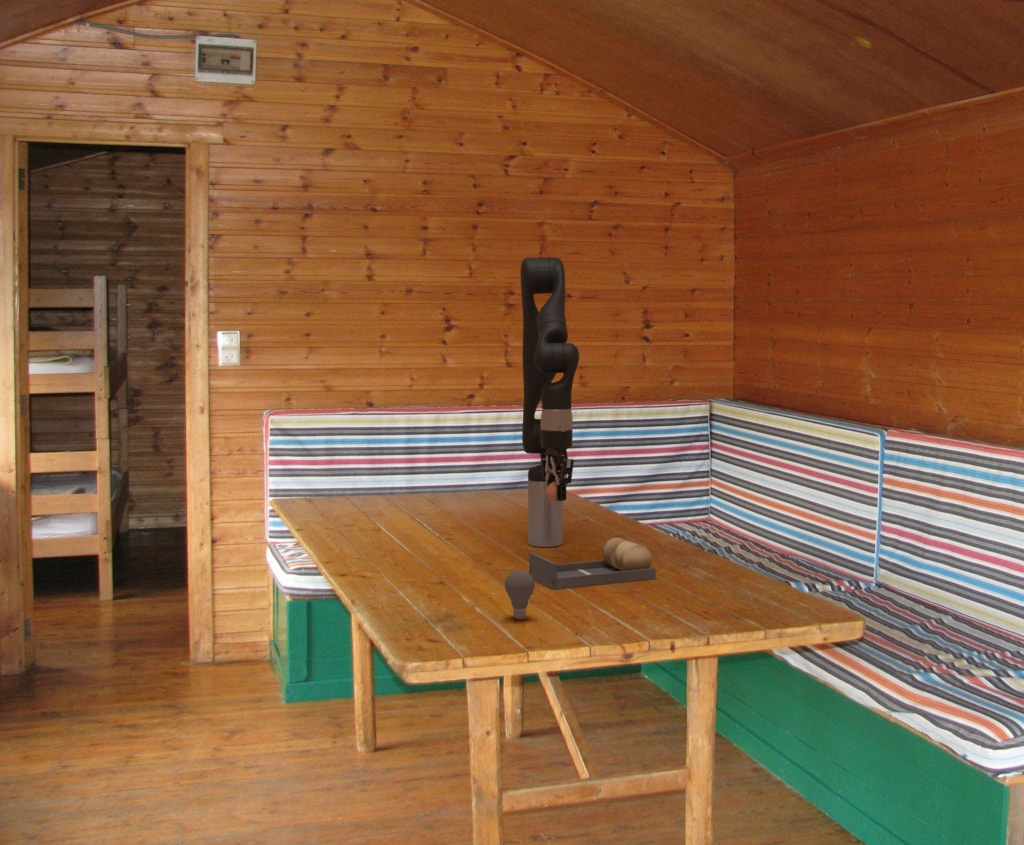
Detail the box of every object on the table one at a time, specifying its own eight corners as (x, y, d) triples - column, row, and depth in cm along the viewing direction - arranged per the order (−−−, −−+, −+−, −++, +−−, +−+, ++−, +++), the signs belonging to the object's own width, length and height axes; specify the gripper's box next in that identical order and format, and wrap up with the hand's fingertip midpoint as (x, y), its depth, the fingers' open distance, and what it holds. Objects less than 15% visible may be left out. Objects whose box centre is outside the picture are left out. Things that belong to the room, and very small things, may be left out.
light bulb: (533, 614, 238) (533, 566, 237) (535, 622, 232) (535, 573, 231) (504, 615, 238) (504, 567, 237) (505, 623, 232) (505, 573, 231)
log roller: (602, 567, 277) (602, 538, 277) (628, 565, 280) (628, 536, 279) (624, 577, 267) (625, 547, 266) (651, 574, 270) (651, 544, 269)
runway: (529, 577, 271) (529, 552, 270) (628, 567, 281) (628, 543, 281) (553, 589, 259) (553, 564, 259) (655, 578, 269) (655, 553, 269)
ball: (543, 500, 280) (543, 480, 279) (561, 499, 281) (561, 479, 281) (551, 503, 275) (551, 483, 275) (570, 502, 277) (569, 482, 277)
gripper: (529, 425, 281) (530, 495, 283) (555, 431, 268) (555, 504, 270) (558, 423, 284) (558, 493, 286) (584, 429, 271) (584, 502, 273)
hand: (556, 498), depth 278 cm, fingers closed on ball, 4 cm apart
